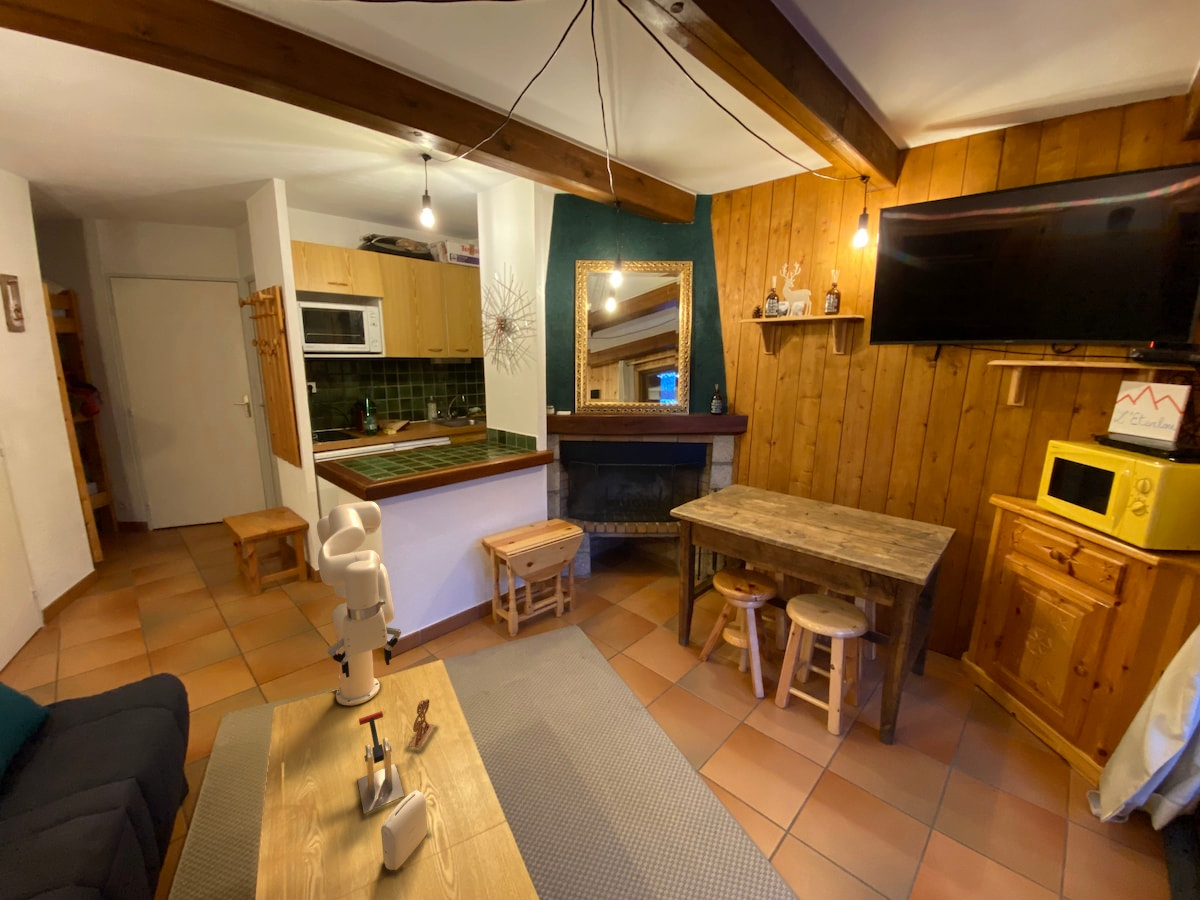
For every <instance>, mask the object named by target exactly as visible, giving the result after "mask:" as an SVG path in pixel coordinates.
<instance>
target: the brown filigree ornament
mask: <svg viewBox="0 0 1200 900" xmlns="http://www.w3.org/2000/svg"><path fill="white" fill-rule="evenodd" d="M429 708H430V699H428V698H426V699H421V700H420V701H419V702H418V705H417V708H416V714H417V716H416V718H415V720H414V723H413V729H412V731H413V733H416V735H415V737H413V739H412V741H411V742H410V744H409V745H408V747H410V748H415V749H421V748H422V746H423V745H424V744H425V742H426V740H427V739H428V737H429V736H430V734H432V731H433V730H434V729H435V727H436V725H435V724H429V722H428V721H427V719H426V718H427V717H426V714H427V713H428V711H429ZM419 719H420V720H419Z"/></svg>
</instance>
